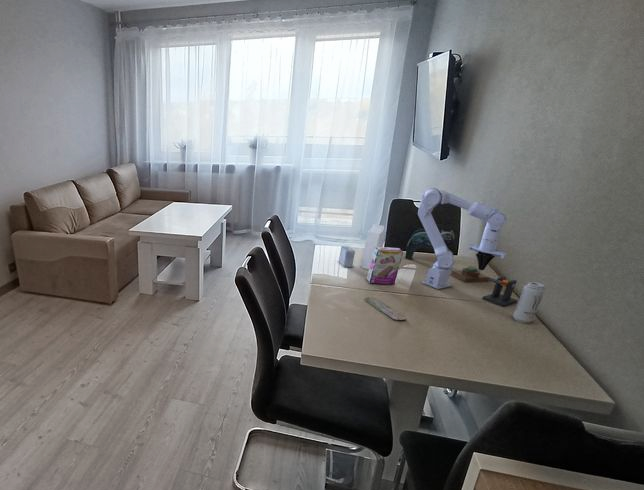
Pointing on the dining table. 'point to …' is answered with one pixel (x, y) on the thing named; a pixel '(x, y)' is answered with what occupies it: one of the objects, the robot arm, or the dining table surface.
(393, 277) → the candy bar box
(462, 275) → the socket block
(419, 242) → the dark green curved piece
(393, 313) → the thin flat strip
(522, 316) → the energy drink can
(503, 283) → the kettle switch
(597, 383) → the dining table surface
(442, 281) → the robot arm
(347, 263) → the medicine box
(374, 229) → the milk
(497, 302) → the dark grey stand
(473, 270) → the socket button
